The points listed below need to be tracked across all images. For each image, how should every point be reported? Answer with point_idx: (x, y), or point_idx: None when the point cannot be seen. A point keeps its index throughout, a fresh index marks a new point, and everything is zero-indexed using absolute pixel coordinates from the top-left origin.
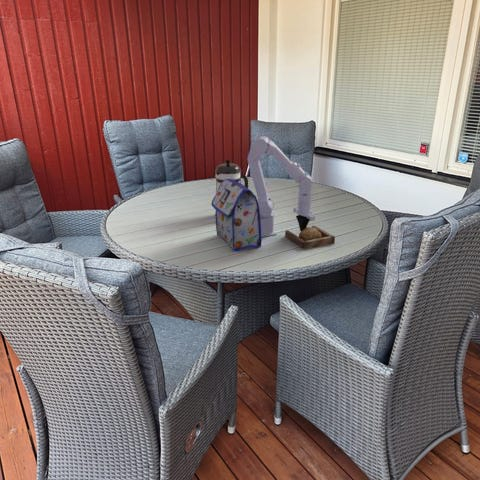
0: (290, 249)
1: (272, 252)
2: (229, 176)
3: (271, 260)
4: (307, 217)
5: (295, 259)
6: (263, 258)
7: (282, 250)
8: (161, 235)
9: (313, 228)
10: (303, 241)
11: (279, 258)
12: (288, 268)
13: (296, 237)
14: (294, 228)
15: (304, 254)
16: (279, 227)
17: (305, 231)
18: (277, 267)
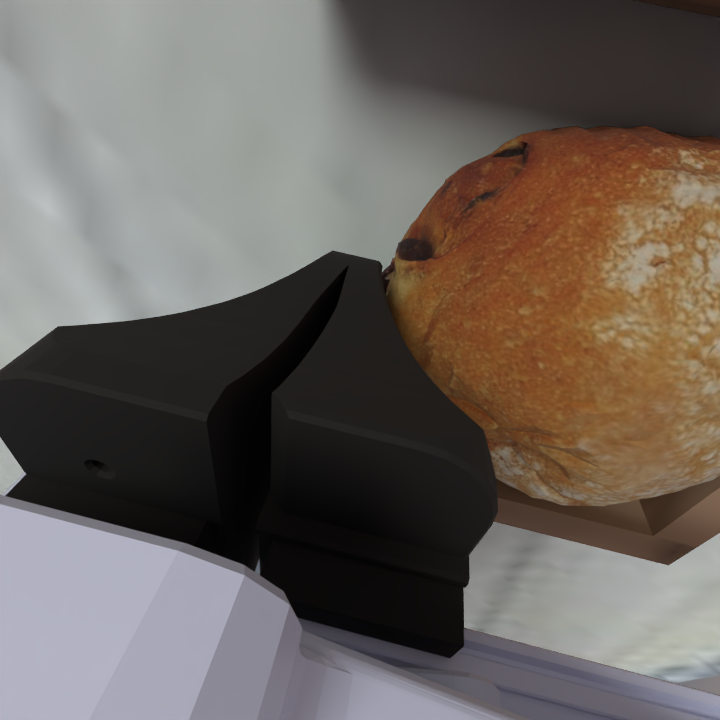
0: (534, 533)
1: (470, 591)
2: None
3: (543, 637)
4: (510, 698)
5: (676, 603)
6: (490, 634)
7: (498, 560)
8: None
9: (692, 422)
10: (642, 547)
11: (565, 618)
12: (696, 661)
13: (498, 516)
14: (54, 126)
15: (705, 544)
16: (3, 272)
17: (570, 504)
18: (627, 664)
